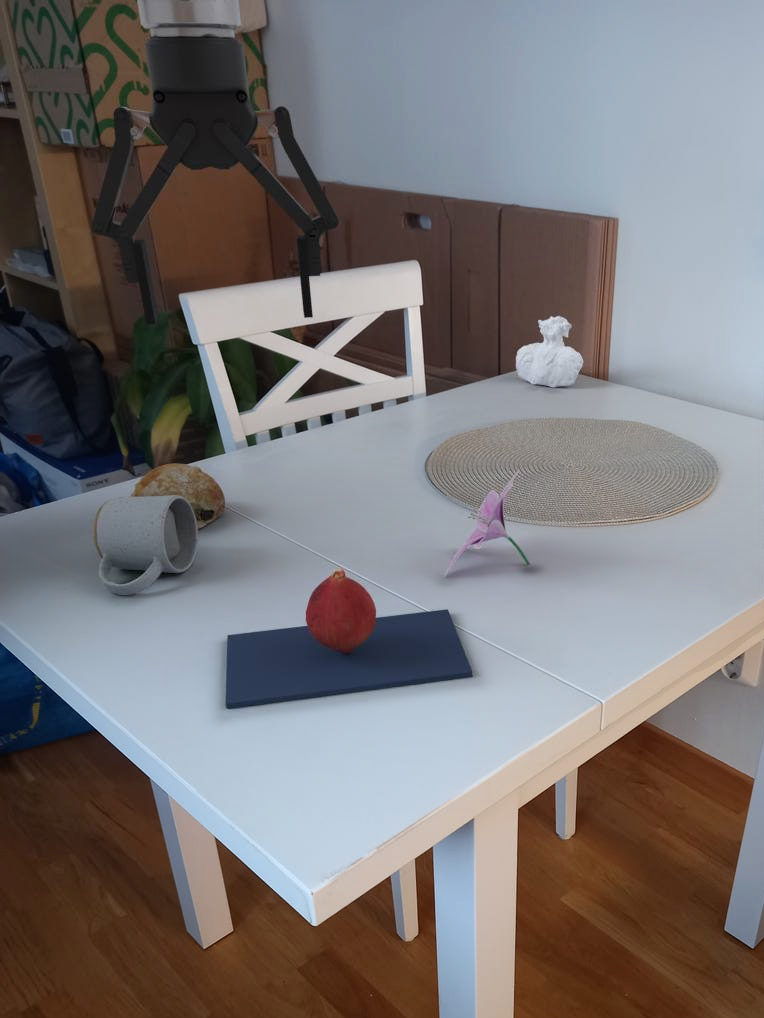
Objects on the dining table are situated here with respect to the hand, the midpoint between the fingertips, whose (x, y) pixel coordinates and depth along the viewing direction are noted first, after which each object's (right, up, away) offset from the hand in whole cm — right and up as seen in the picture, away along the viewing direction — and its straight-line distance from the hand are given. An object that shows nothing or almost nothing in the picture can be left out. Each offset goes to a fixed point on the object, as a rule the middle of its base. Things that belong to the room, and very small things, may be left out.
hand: (231, 318), depth 83 cm
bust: (+34, +14, +70) cm, 79 cm away
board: (+11, -30, -3) cm, 32 cm away
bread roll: (-12, -15, +23) cm, 30 cm away
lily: (+23, -21, +12) cm, 34 cm away
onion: (+11, -30, -3) cm, 32 cm away
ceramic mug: (-11, -22, +11) cm, 27 cm away
